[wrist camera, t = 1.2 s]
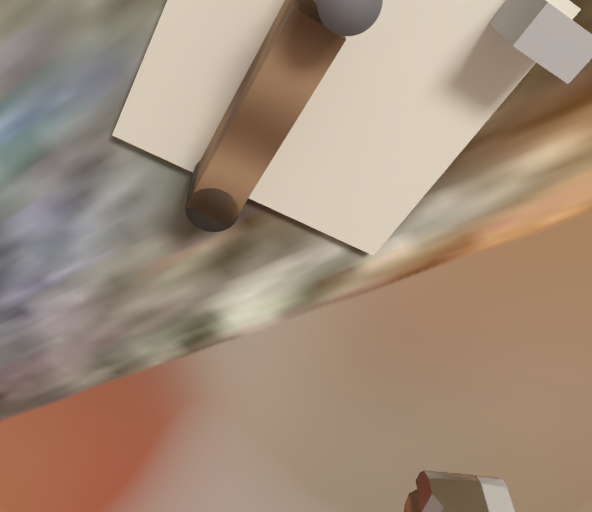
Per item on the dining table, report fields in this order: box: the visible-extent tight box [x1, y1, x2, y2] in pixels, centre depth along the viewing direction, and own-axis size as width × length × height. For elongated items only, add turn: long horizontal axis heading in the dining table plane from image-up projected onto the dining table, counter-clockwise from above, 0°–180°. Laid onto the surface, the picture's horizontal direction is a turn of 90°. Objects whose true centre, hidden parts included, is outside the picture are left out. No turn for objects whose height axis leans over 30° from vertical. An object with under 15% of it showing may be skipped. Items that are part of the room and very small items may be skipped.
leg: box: [186, 0, 346, 232], centre depth 32 cm, size 14×3×4 cm, turn 150°
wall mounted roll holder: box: [112, 0, 592, 256], centre depth 30 cm, size 20×20×8 cm
